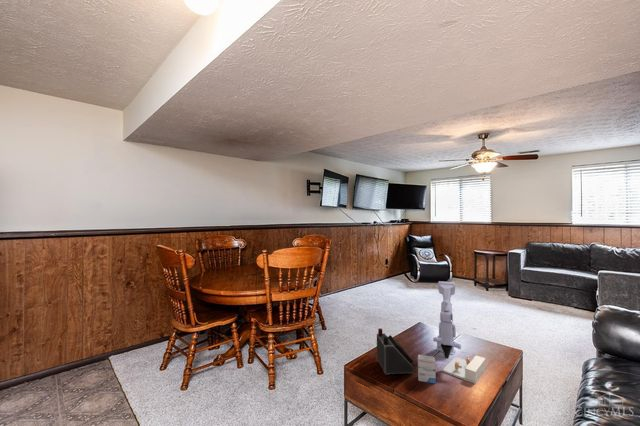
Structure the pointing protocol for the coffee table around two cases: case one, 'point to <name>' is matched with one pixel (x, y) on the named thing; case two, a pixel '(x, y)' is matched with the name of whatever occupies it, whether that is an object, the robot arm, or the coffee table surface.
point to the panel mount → (467, 369)
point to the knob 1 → (457, 365)
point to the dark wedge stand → (392, 355)
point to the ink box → (426, 369)
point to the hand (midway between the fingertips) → (447, 357)
